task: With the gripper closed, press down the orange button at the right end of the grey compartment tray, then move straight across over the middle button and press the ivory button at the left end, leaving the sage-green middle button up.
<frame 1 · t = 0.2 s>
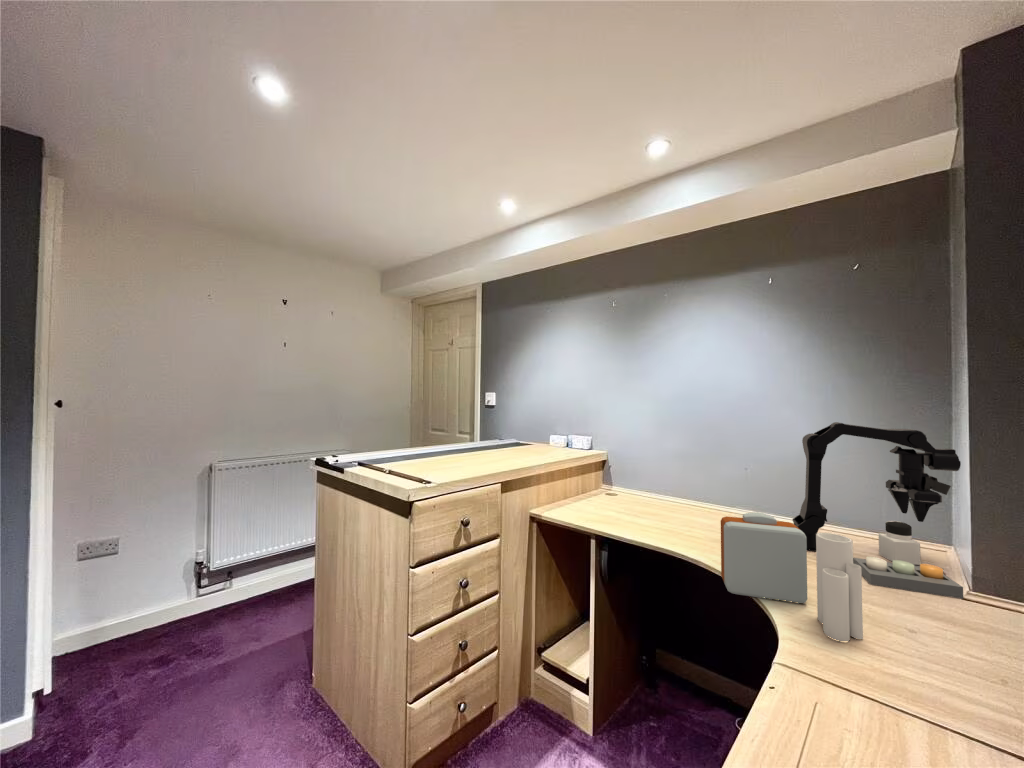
hand: (912, 517, 124), 14 cm above the table, fingers open, 9 cm apart
vase: (839, 630, 88), on the table
medicine bottle: (899, 560, 126), on the table
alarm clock: (761, 592, 105), on the table
button ivory: (876, 564, 114), point 4 cm above the table, slide at 0.0 cm
button orange: (931, 572, 109), point 4 cm above the table, slide at 0.0 cm
button sage: (903, 568, 111), point 4 cm above the table, slide at 0.0 cm
grey compartment tray: (903, 581, 111), on the table
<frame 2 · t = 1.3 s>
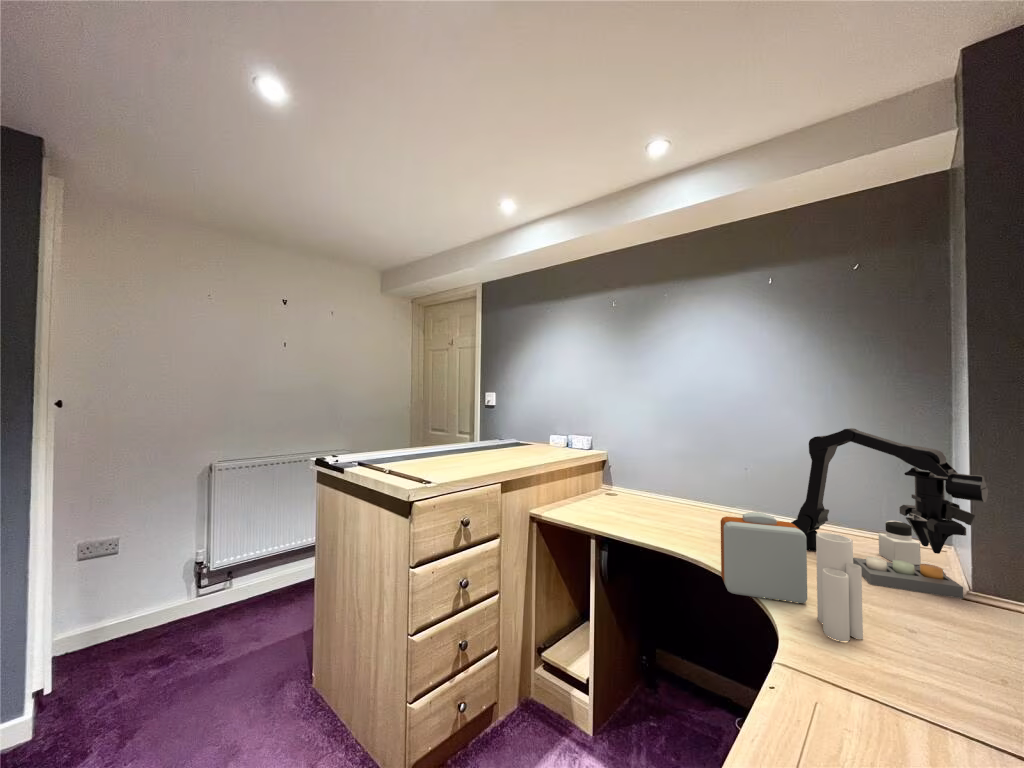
hand: (930, 549, 109), 10 cm above the table, fingers open, 5 cm apart
nothing on the table moved.
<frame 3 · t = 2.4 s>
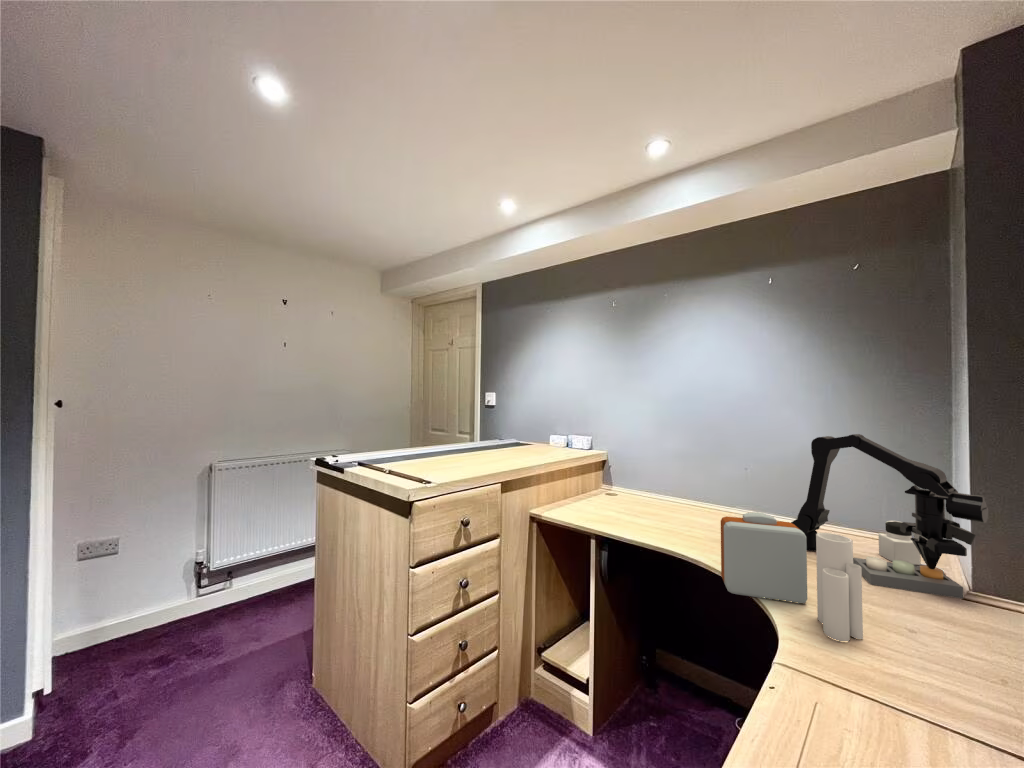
hand: (931, 568, 109), 5 cm above the table, fingers closed, pressing on button orange
button orange: (931, 574, 109), point 3 cm above the table, slide at 0.4 cm, touching gripper
everything else where it was.
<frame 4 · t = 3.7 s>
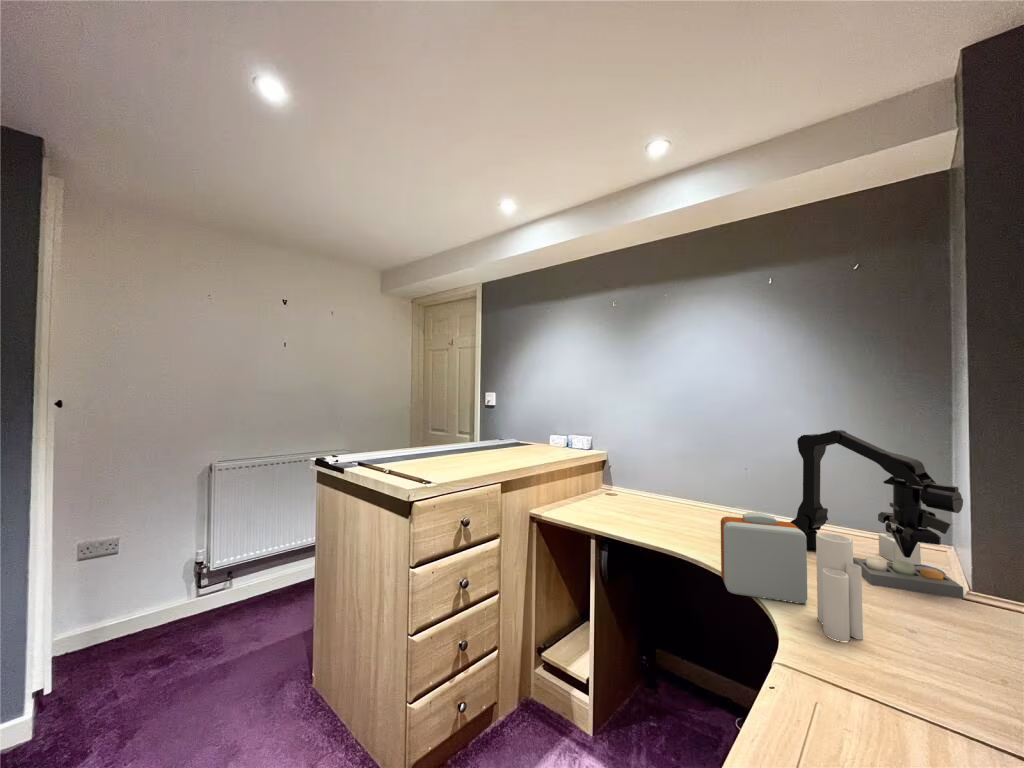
hand: (906, 557, 111), 7 cm above the table, fingers closed
button orange: (931, 576, 109), point 3 cm above the table, slide at 1.2 cm
everything else where it was.
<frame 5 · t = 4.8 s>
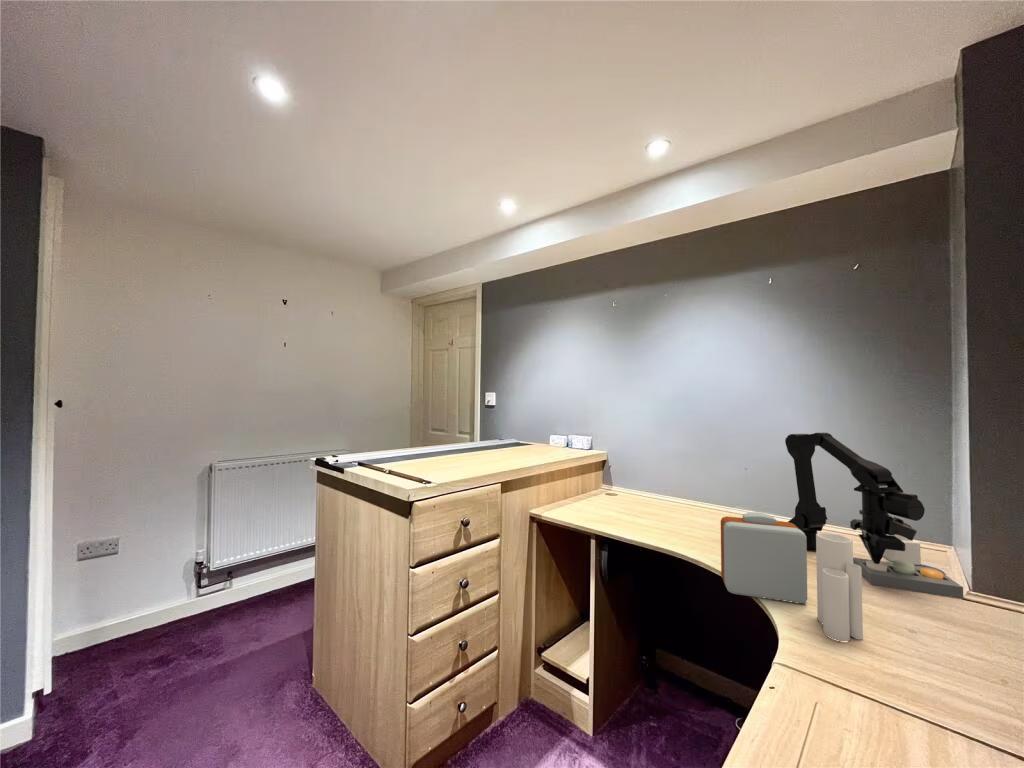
hand: (876, 563, 114), 4 cm above the table, fingers closed, pressing on button ivory
button ivory: (876, 568, 114), point 3 cm above the table, slide at 1.1 cm, touching gripper
everything else where it was.
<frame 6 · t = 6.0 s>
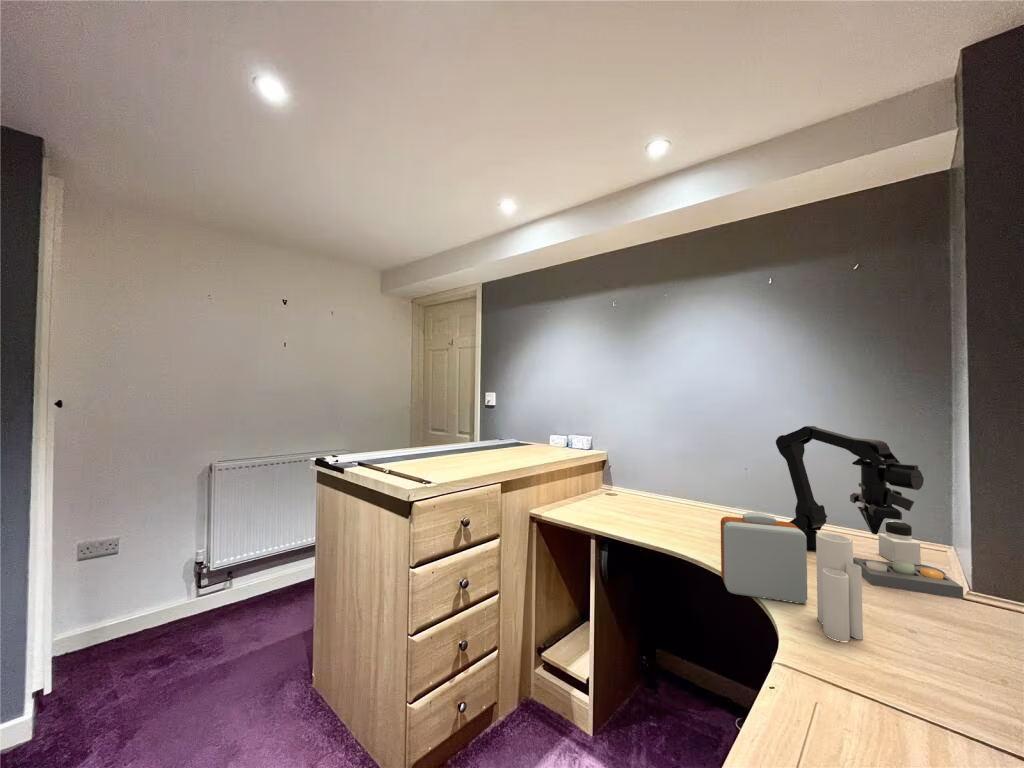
hand: (874, 534, 117), 11 cm above the table, fingers closed
button ivory: (876, 569, 114), point 2 cm above the table, slide at 1.2 cm
everything else where it was.
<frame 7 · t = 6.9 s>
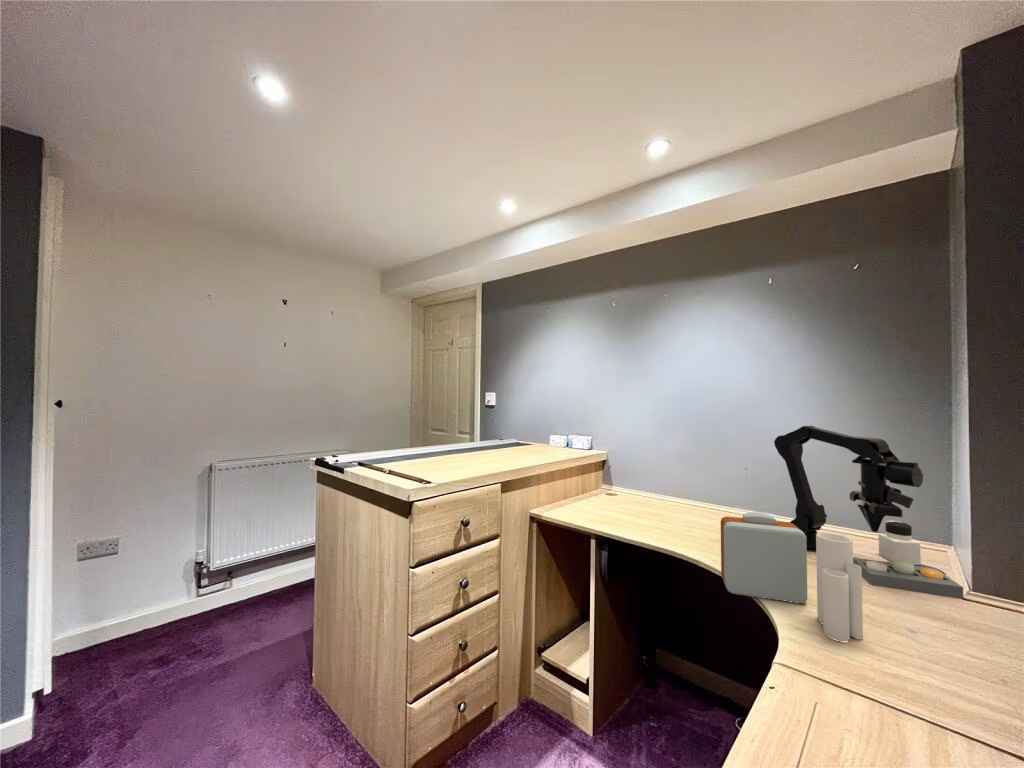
hand: (874, 531, 118), 12 cm above the table, fingers closed
nothing on the table moved.
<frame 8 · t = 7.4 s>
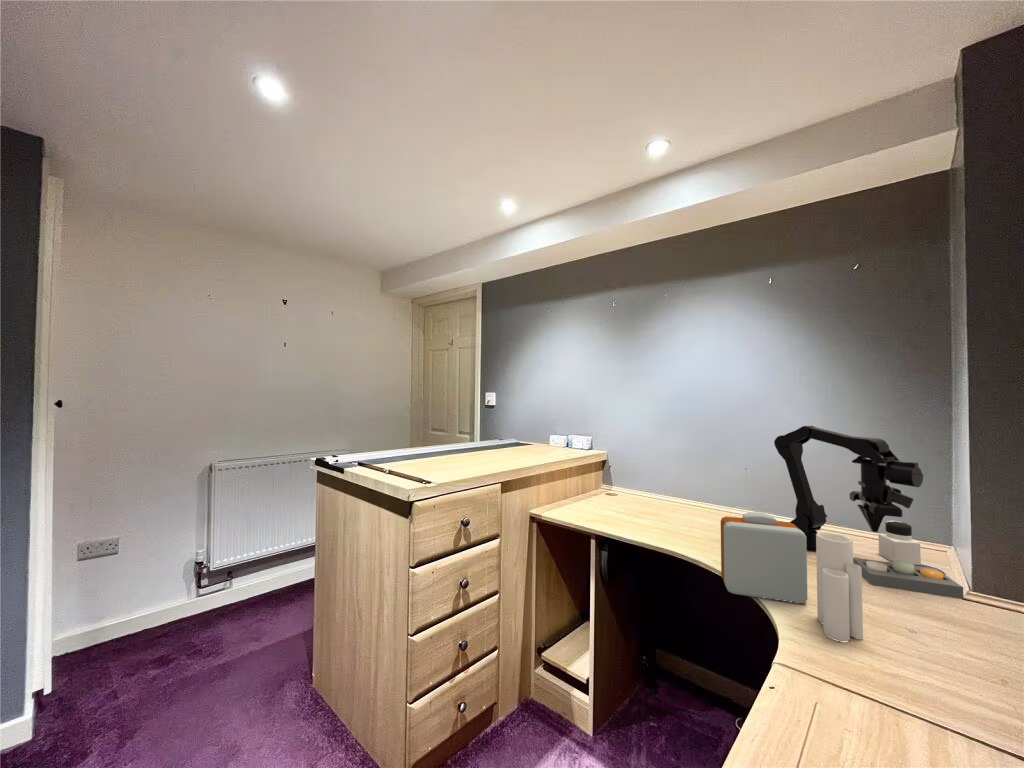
hand: (874, 531, 118), 12 cm above the table, fingers closed
nothing on the table moved.
at the end: button orange slide at 1.2 cm; button ivory slide at 1.2 cm; button sage slide at 0.0 cm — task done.
